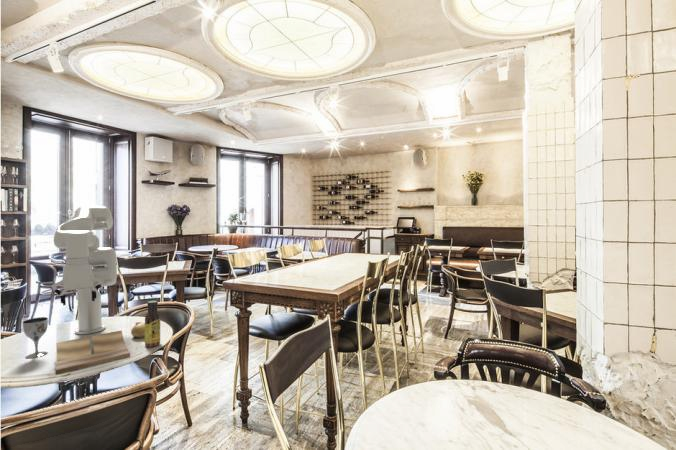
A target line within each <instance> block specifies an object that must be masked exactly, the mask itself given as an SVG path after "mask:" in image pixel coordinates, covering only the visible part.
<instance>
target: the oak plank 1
mask: <svg viewBox="0 0 676 450" xmlns="http://www.w3.org/2000/svg"><path fill="white" fill-rule="evenodd" d="M55 345H56V362H59V361H64V360H68V359H73V358H77V357H82V356H86V355H91V354H92V350H91V340H90V336H86V337H85V336H84V337H81V338H75V339H71V340H65V341H60V342H56V344H55Z"/></svg>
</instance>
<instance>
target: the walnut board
mask: <svg viewBox="0 0 676 450" xmlns="http://www.w3.org/2000/svg"><path fill="white" fill-rule="evenodd" d="M127 357H128V358H129V357H131V352H130V350H129V348H128V347H127V346H125V347H122V348H118V349H113V350H109V351H104V352H100V353H95V354H94V353H91V355H86V356H82V357H77V358H73V359H68V360H64V361H59V362H57V361H55V362H54V363H55V374H56V375H58V374H61V373H65V372H70V371H74V370H78V369H82V368H87V367H90V366H91V367H92V366H95V365H98V364H99V365H100V364H104V363H106V362H111V361H115V360H121V359H124V358H127Z"/></svg>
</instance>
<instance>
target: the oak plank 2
mask: <svg viewBox="0 0 676 450" xmlns="http://www.w3.org/2000/svg"><path fill="white" fill-rule="evenodd" d="M91 341H92V349H93V354H95V353H100V352H104V351H109V350H113V349H118V348H122V347H126V345H125V341H124V335H123V330H115V331H112V332H111V331H110V332H105V333H103V334H96V335H92V336H91Z"/></svg>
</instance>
